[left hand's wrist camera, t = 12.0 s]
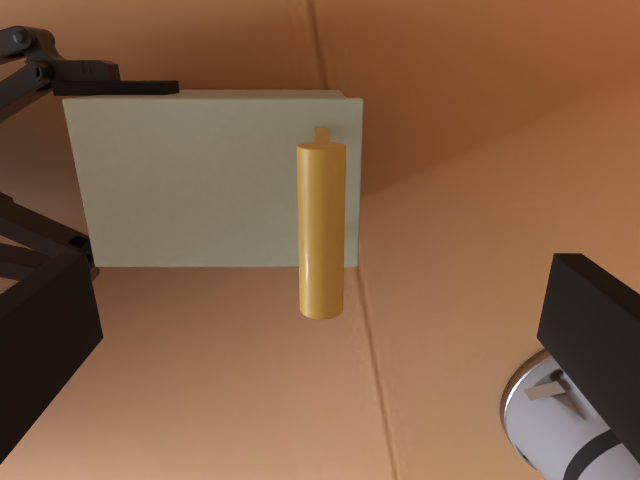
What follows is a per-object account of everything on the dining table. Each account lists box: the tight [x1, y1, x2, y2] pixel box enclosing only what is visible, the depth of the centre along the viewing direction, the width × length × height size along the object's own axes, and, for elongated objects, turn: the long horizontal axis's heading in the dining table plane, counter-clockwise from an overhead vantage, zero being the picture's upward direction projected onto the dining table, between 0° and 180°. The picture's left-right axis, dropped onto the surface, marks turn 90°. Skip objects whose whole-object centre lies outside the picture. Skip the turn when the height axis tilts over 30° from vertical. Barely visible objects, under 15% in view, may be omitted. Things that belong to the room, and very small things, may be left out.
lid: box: [62, 98, 363, 320], centre depth 21 cm, size 15×9×9 cm, turn 90°
